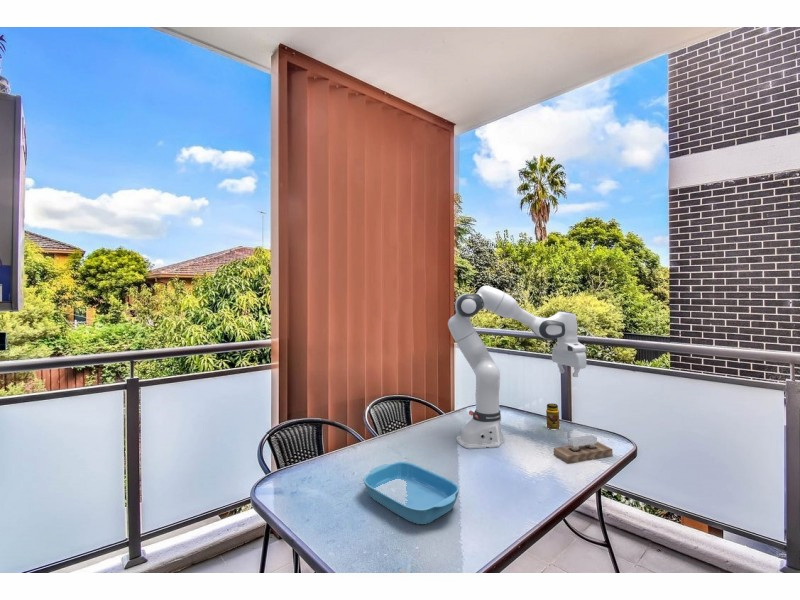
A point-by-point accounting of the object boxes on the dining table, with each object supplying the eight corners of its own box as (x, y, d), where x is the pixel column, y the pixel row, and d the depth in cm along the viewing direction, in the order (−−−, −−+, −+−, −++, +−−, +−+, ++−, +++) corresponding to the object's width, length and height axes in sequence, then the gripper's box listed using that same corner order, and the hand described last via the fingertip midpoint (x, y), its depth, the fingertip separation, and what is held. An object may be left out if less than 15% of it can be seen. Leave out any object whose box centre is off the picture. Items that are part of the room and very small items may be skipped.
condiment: (552, 431, 191) (552, 407, 191) (540, 426, 199) (539, 403, 198) (563, 428, 194) (563, 405, 193) (551, 423, 202) (550, 401, 201)
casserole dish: (353, 494, 138) (352, 475, 138) (399, 473, 153) (398, 455, 153) (425, 541, 111) (425, 517, 110) (473, 510, 125) (472, 488, 125)
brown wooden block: (567, 463, 155) (567, 456, 155) (553, 454, 164) (553, 448, 164) (612, 456, 160) (612, 448, 160) (596, 447, 169) (596, 441, 169)
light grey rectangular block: (573, 458, 159) (572, 441, 159) (568, 455, 162) (567, 438, 162) (597, 454, 162) (596, 437, 162) (592, 452, 165) (591, 434, 165)
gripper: (548, 343, 188) (548, 371, 188) (576, 348, 168) (577, 379, 168) (559, 342, 189) (560, 370, 190) (588, 347, 169) (589, 378, 170)
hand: (568, 374), depth 179 cm, fingers open, 8 cm apart
